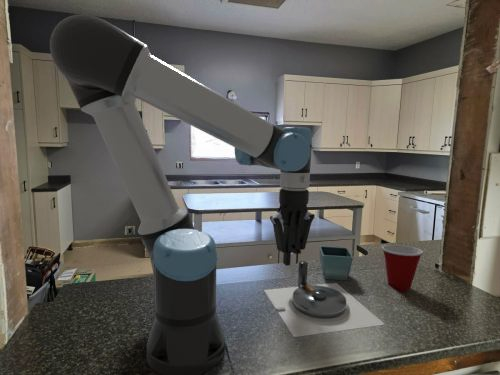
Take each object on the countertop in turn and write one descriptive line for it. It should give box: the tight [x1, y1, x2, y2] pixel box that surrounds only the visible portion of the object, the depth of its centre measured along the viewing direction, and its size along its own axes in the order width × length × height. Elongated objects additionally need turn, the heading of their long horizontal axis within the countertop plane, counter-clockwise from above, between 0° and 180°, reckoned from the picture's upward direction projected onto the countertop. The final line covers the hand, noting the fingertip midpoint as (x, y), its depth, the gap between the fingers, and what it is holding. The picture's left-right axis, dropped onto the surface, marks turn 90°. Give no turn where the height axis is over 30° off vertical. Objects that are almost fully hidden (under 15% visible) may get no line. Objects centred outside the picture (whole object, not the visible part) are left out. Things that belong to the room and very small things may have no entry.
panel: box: [263, 282, 385, 338], centre depth 81 cm, size 22×22×2 cm
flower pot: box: [319, 245, 354, 281], centre depth 99 cm, size 9×9×9 cm
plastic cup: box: [381, 244, 424, 293], centre depth 94 cm, size 11×11×12 cm
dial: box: [293, 260, 346, 319], centre depth 82 cm, size 17×13×8 cm
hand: (289, 275), depth 86 cm, fingers closed
